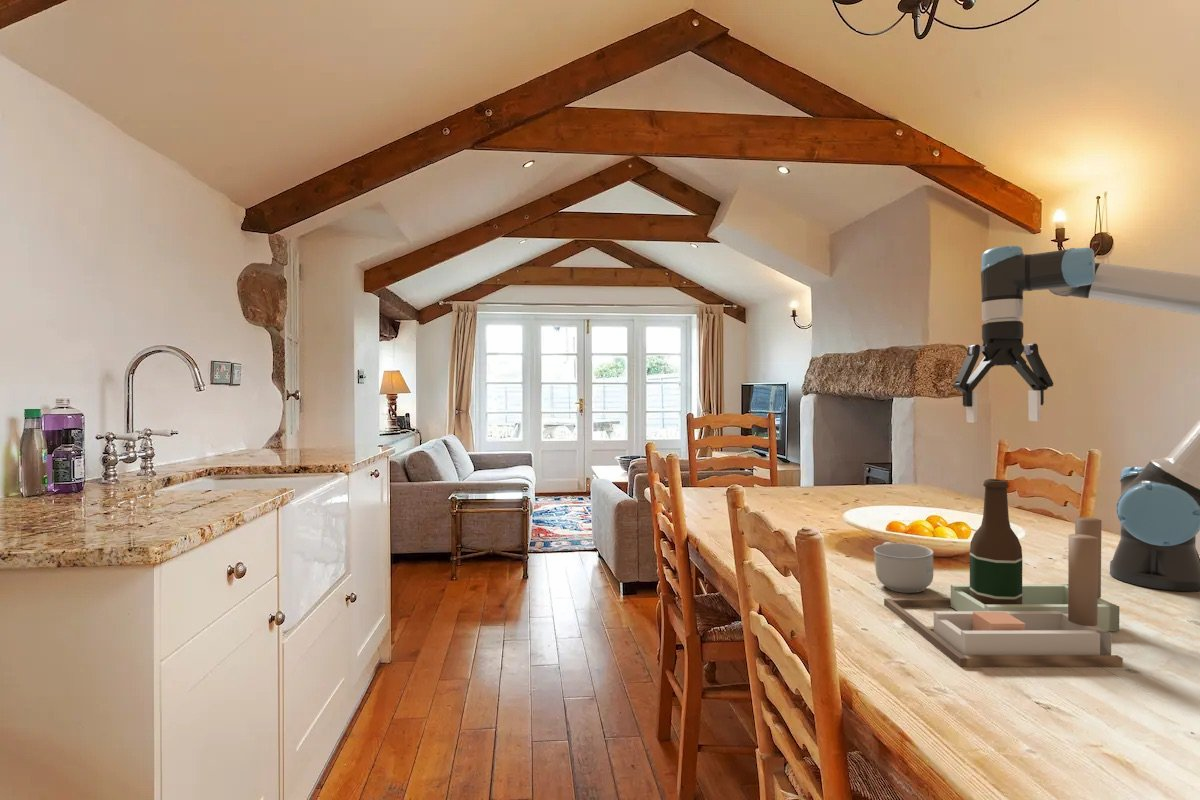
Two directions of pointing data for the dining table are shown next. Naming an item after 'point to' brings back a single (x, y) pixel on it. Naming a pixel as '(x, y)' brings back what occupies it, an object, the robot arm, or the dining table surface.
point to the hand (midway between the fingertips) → (1003, 422)
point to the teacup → (904, 566)
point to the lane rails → (990, 660)
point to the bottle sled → (1046, 590)
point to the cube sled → (1041, 618)
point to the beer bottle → (996, 551)
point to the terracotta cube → (996, 622)
